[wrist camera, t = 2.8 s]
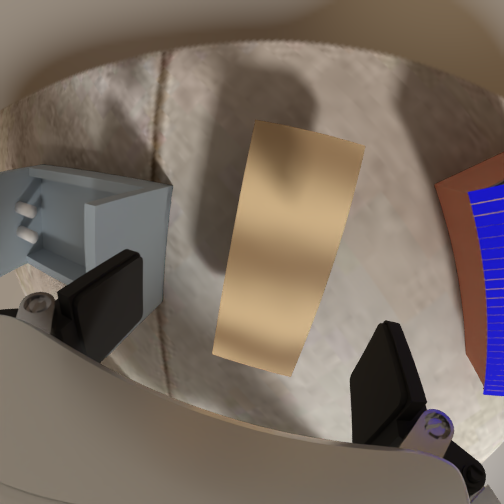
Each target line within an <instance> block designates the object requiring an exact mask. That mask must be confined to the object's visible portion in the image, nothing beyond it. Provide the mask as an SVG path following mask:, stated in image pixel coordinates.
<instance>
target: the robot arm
mask: <svg viewBox="0 0 504 504" xmlns="http://www.w3.org/2000/svg"><path fill="white" fill-rule="evenodd" d="M57 293H58V299H57V300H56V301H55V299H54V297H53V296H52V295H51V294H49V293H46V292H36V293H32V294H30V295H28V296H26V297H25V298H24V299H23V300H22V302H21V303H20V306H19V309H5V310H4V309H3V310H0V504H501V503H500V501H499V500H498V498H497V497H496V495H495V494H494V492H493V491H492V489H491V488H490V487H489V485H487V486H484V484H485V480H486V474H485V470H484V468H483V466H482V465H481V464H480V463H479V462H478V461H477V460H476V459H475V458H473V457H472V456H471V455H470V454H468V453H467V452H466V451H465V450H463V449H462V448H461V447H460V446H458V445H457V444H456V443H455V442H453V441H452V438H453V434H454V426H453V423H452V421H451V420H450V418H449V417H448V416H447V415H446V414H445V413H443V412H441V411H440V410H436V409H429V410H427V409H426V405H425V404H426V403H427V400H426V397H425V394H424V390H423V387H422V384H421V381H420V378H419V375H418V372H417V369H416V366H415V363H414V360H413V357H412V355H411V352H410V349H409V346H408V344H407V341H406V338H405V336H404V333H403V331H402V328H401V326H400V324H399V323H395V322H391V321H384V322H383V324H382V323H380V324H379V325H378V326H377V328H376V330H375V332H374V334H373V336H372V338H371V340H370V342H369V344H368V345H367V347H366V349H365V351H364V353H363V355H362V356H361V358H360V360H359V362H358V363H357V365H356V367H355V369H354V370H353V372H352V374H351V377H350V393H351V411H352V443H347V442H340V441H333V440H326V439H319V438H313V437H308V436H302V435H297V434H292V433H287V432H282V431H278V430H273V429H269V428H265V427H261V426H257V425H253V424H250V423H246V422H242V421H239V420H236V419H232V418H229V417H226V416H222V415H219V414H216V413H213V412H210V411H207V410H204V409H201V408H199V407H196V406H193V405H190V404H188V403H185V402H182V401H180V400H177V399H175V398H172V397H170V396H167V395H165V394H162V393H160V392H158V391H155V390H153V389H151V388H148V387H146V386H144V385H142V384H140V383H137V382H135V381H133V380H131V379H129V378H127V377H125V376H123V375H121V374H119V373H117V372H115V371H113V370H111V369H109V368H107V367H105V366H103V365H102V364H100V363H101V361H102V360H103V359H104V358H105V357H106V356H107V355H108V354H109V353H110V352H111V351H112V350H113V349H114V348H115V346H116V345H117V344H118V343H119V342H120V341H121V340H122V339H123V338H124V337H125V336H126V335H127V334H128V333H129V332H130V331H131V330H132V329H133V328H134V326H135V325H136V324H137V323H138V322H139V321H140V320H141V318H142V316H143V258H142V257H141V256H140V254H139V252H135V251H132V250H129V249H125V250H123V251H121V252H119V253H118V254H116V255H114V256H113V257H111V258H109V259H108V260H106V261H105V262H103V263H101V264H100V265H98V266H96V267H95V268H93V269H92V270H90V271H88V272H87V273H85V274H84V275H82V276H81V277H79V278H77V279H76V280H74V281H73V282H71V283H70V284H68V285H67V286H65V287H64V288H62V289H61V290H59V291H58V292H57Z"/></svg>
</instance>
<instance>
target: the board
mask: <svg viewBox="0 0 504 504" xmlns="http://www.w3.org/2000/svg"><path fill="white" fill-rule="evenodd" d="M364 150H365V146H363V145H360V144H357V143H354V142H350V141H347V140H343V139H340V138H336V137H332V136H329V135H325V134H321V133H317V132H313V131H309V130H304V129H300V128H296V127H291V126H286V125H281V124H276V123H271V122H266V121H260V120H255V124H254V129H253V134H252V138H251V143H250V148H249V153H248V158H247V163H246V168H245V173H244V178H243V183H242V188H241V193H240V198H239V203H238V209H237V214H236V219H235V224H234V230H233V235H232V241H231V246H230V252H229V257H228V263H227V268H226V274H225V280H224V285H223V291H222V297H221V303H220V309H219V315H218V321H217V327H216V333H215V339H214V345H213V351H212V354H213V355H216V356H219V357H222V358H225V359H229V360H232V361H235V362H238V363H241V364H245V365H248V366H252V367H255V368H259V369H262V370H266V371H269V372H273V373H277V374H281V375H285V376H289V377H291V375H292V372H293V370H294V368H295V365H296V363H297V361H298V358H299V356H300V353H301V351H302V348H303V346H304V343H305V341H306V338H307V336H308V333H309V331H310V328H311V325H312V323H313V320H314V317H315V315H316V312H317V309H318V307H319V304H320V301H321V298H322V295H323V293H324V290H325V287H326V284H327V281H328V278H329V275H330V272H331V269H332V266H333V263H334V260H335V257H336V253H337V250H338V247H339V244H340V241H341V237H342V234H343V231H344V227H345V224H346V220H347V217H348V213H349V210H350V206H351V202H352V199H353V195H354V191H355V187H356V183H357V179H358V175H359V171H360V167H361V163H362V159H363V154H364Z"/></svg>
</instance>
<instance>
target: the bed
mask: <svg viewBox="0 0 504 504" xmlns="http://www.w3.org/2000/svg"><path fill="white" fill-rule="evenodd" d="M172 189H173V186H172V185H167V184H162V183H157V182H151V181H146V180H141V179H135V178H130V177H124V176H118V175H112V174H106V173H100V172H94V171H87V170H80V169H74V168H67V167H59V166H52V165H44V164H42V165H36V166H30V167H24V168H19V169H13V170H8V171H3V172H0V277H1V276H3V275H5V274H7V273H8V272H11V271H12V270H14V269H16V268H18V267H20V266H22V265H24V264H26V263H29V264H30V265H32V266H34V267H35V268H37V269H39V270H41V271H42V272H44V273H46V274H48V275H49V276H51V277H53V278H55V279H57V280H59V281H60V282H62V283H64V284H66V285H68V284H70V283H71V282H73V281H74V280H76V279H77V278H79V277H81V276H82V275H84V274H85V273H87V272H88V271H90V270H92V269H93V268H95V267H96V266H98V265H100V264H101V263H103V262H105V261H106V260H108V259H109V258H111V257H113V256H114V255H116V254H118V253H119V252H121V251H123V250H125V249H129V250H132V251H135V252H139V254H140V256H141V257H142V258H143V316H142V318H141V320H140V321H139V322H138V323H137V324H136V325H135V326H134V328H133V329H132V330H131V331H130V332H129V333H128V334H127V335H126V336H125V337H124V338H123V339H122V340H121V341H120V342H119V343H118V344H117V345H116V346H115V348H116V347H117V346H118V345H119V344H120V343H121V342H122V341H123V340H124V339H125V338H126V337H127V336H128V335H129V334H130V333H131V332H132V331H133V330H134V329H135V328H136V327H137V326H138V325H139V324H140V323H141V322H142V321H143V320H144V319H145V318H146V317H147V316H148V315H149V314H150V313H151V312H152V311H153V310H154V309H155V308H156V307H157V306H158V305H159V304H160V303H161V302H162V301H163V283H164V268H165V254H166V243H167V232H168V222H169V213H170V205H171V197H172ZM115 348H114V349H115ZM114 349H113V350H114ZM113 350H112V351H113ZM112 351H111V352H112ZM111 352H110V353H111ZM110 353H109V354H110ZM109 354H108V355H109ZM108 355H107V356H108ZM107 356H106V357H107Z"/></svg>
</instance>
